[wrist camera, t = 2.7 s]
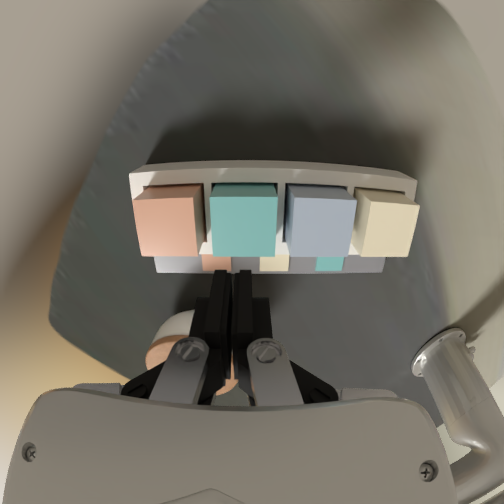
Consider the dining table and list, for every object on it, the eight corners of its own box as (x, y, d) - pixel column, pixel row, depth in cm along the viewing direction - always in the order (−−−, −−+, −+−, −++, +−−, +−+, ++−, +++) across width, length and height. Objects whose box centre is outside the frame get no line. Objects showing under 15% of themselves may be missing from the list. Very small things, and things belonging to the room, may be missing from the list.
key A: (204, 181, 23) (193, 197, 19) (206, 230, 25) (197, 256, 21) (153, 183, 23) (132, 200, 19) (159, 231, 25) (141, 256, 21)
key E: (393, 188, 23) (419, 205, 19) (385, 233, 26) (407, 256, 21) (349, 184, 23) (371, 201, 19) (343, 231, 26) (360, 256, 21)
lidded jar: (181, 279, 31) (160, 337, 22) (257, 320, 34) (258, 380, 25) (150, 331, 35) (130, 383, 27) (215, 362, 38) (209, 415, 29)
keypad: (397, 170, 24) (417, 180, 21) (378, 267, 30) (391, 286, 27) (145, 164, 24) (128, 173, 21) (159, 267, 30) (148, 287, 26)
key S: (337, 183, 23) (357, 200, 19) (332, 231, 26) (347, 256, 21) (286, 181, 23) (294, 197, 19) (283, 230, 25) (290, 256, 21)
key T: (272, 180, 23) (277, 197, 19) (270, 230, 25) (274, 256, 21) (217, 180, 23) (209, 197, 19) (219, 230, 25) (212, 256, 21)
